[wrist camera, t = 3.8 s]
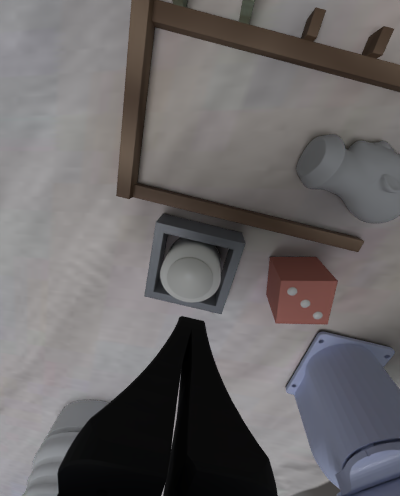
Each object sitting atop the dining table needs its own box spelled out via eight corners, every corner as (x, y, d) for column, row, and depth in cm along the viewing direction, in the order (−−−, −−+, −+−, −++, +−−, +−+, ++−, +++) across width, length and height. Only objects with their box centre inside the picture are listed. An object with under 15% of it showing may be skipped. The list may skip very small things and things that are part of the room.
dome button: (213, 287, 22) (212, 310, 19) (163, 276, 22) (155, 297, 19) (226, 242, 20) (228, 260, 17) (172, 229, 20) (164, 244, 17)
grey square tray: (221, 297, 23) (221, 314, 20) (151, 281, 23) (144, 296, 20) (242, 232, 20) (245, 244, 18) (163, 213, 20) (155, 222, 17)
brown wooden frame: (352, 248, 20) (376, 265, 17) (124, 192, 19) (107, 200, 16) (457, 60, 14) (519, 39, 11) (143, -25, 14) (123, -70, 11)
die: (309, 294, 22) (327, 325, 18) (266, 294, 22) (276, 324, 19) (316, 256, 20) (338, 281, 17) (269, 256, 21) (281, 281, 17)
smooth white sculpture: (393, 173, 18) (359, 230, 19) (313, 119, 17) (279, 181, 18) (458, 162, 14) (412, 235, 15) (358, 89, 13) (311, 171, 13)
